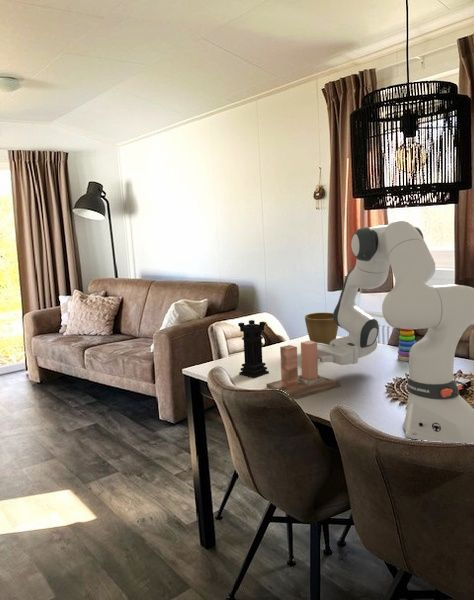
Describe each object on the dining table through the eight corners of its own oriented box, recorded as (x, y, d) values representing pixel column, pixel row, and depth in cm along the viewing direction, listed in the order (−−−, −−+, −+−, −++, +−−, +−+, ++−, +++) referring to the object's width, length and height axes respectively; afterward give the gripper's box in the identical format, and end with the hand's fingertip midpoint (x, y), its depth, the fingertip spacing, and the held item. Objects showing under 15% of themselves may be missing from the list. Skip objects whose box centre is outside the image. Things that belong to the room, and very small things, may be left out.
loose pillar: (318, 381, 183) (317, 342, 180) (309, 383, 180) (308, 344, 178) (310, 378, 186) (309, 340, 184) (301, 381, 184) (300, 342, 182)
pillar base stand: (340, 385, 180) (339, 342, 178) (296, 398, 170) (294, 353, 167) (309, 375, 194) (308, 335, 191) (266, 387, 183) (264, 344, 181)
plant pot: (299, 350, 231) (298, 314, 229) (329, 346, 236) (328, 311, 233) (315, 358, 217) (314, 320, 215) (346, 353, 222) (346, 316, 220)
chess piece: (239, 374, 199) (236, 323, 196) (253, 369, 205) (251, 319, 202) (254, 378, 194) (252, 325, 191) (268, 373, 199) (266, 321, 196)
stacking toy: (415, 356, 212) (415, 311, 209) (420, 361, 204) (420, 314, 202) (395, 356, 213) (395, 311, 210) (399, 362, 205) (399, 315, 202)
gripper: (320, 337, 198) (292, 343, 191) (361, 346, 181) (331, 354, 174) (320, 353, 199) (292, 360, 192) (361, 364, 182) (332, 372, 175)
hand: (311, 357), depth 183 cm, fingers open, 8 cm apart
